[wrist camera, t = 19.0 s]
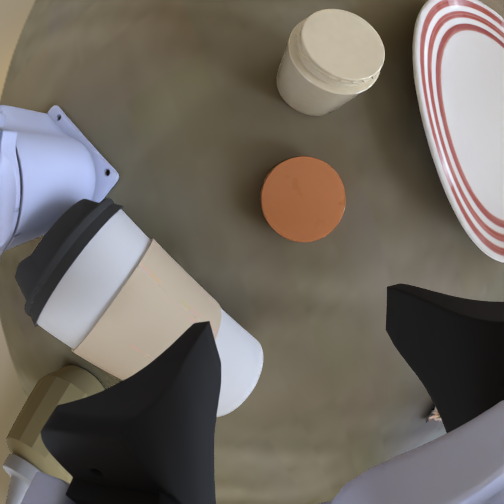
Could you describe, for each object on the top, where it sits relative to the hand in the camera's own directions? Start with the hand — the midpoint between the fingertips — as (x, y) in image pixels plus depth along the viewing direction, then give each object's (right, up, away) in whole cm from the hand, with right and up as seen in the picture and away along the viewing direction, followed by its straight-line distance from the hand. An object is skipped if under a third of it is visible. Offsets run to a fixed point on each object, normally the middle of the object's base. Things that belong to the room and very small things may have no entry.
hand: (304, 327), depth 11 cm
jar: (+2, +15, +7) cm, 17 cm away
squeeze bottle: (-20, -11, +13) cm, 26 cm away
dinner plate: (+23, +16, +7) cm, 29 cm away
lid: (+1, +6, +8) cm, 10 cm away
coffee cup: (-4, -6, +9) cm, 11 cm away
